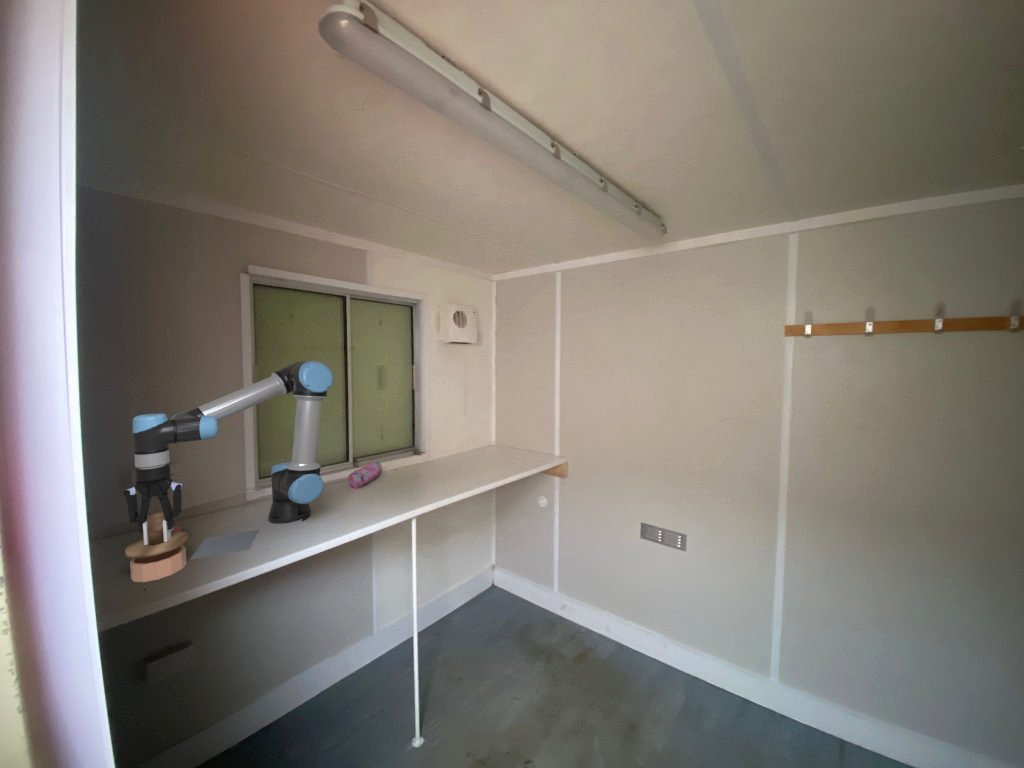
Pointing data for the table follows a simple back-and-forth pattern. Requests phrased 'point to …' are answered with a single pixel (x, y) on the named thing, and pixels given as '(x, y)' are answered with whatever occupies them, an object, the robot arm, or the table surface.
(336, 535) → the table surface
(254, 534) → the slate mat
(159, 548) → the walnut lid
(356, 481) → the pencil case
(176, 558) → the terracotta bowl
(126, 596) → the table surface
